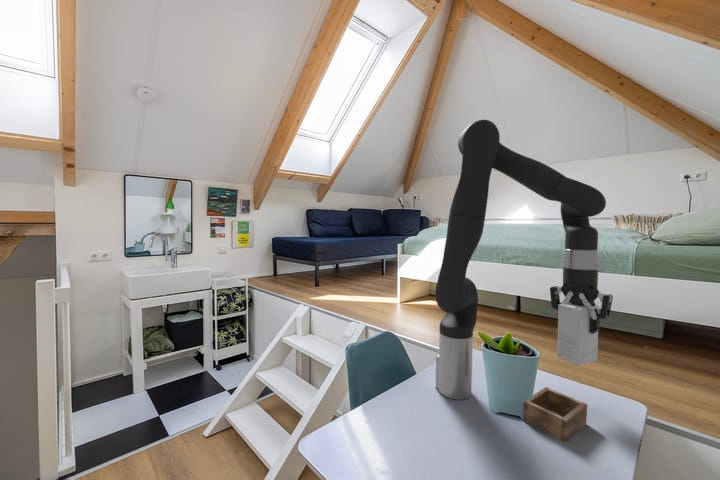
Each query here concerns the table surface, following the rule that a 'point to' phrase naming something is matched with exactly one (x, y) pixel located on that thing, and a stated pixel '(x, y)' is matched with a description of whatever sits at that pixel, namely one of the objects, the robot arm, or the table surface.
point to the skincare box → (576, 335)
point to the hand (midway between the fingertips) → (578, 328)
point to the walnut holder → (552, 422)
